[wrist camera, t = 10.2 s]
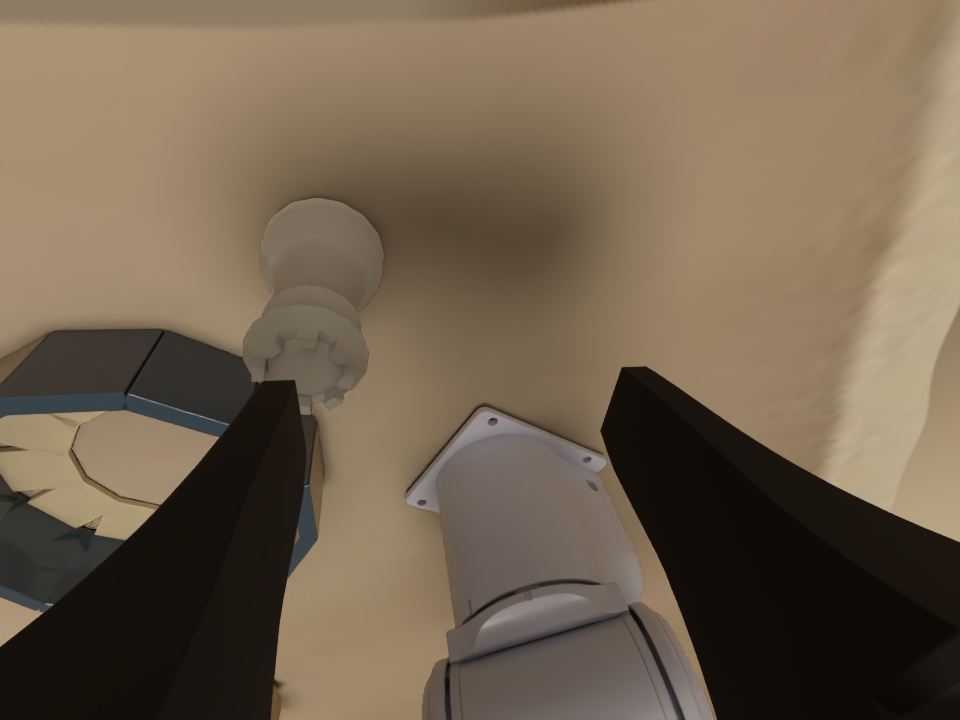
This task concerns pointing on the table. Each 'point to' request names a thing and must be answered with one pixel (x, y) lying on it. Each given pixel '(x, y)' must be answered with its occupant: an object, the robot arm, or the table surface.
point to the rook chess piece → (315, 300)
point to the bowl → (81, 397)
